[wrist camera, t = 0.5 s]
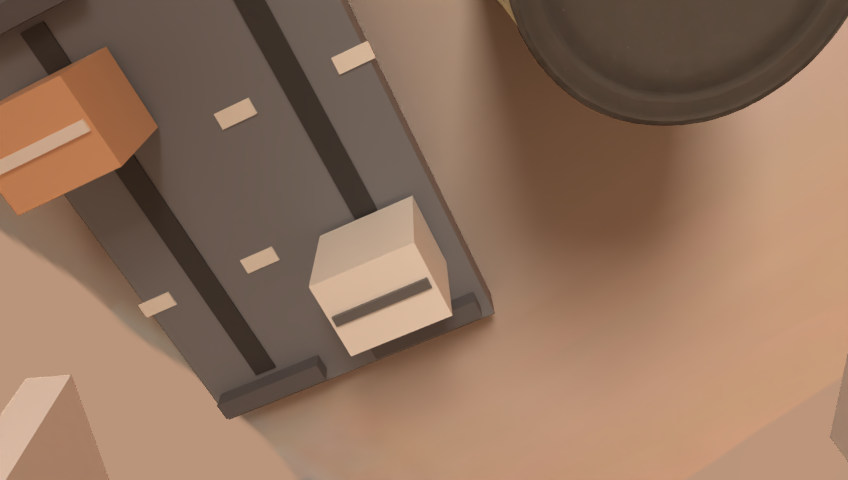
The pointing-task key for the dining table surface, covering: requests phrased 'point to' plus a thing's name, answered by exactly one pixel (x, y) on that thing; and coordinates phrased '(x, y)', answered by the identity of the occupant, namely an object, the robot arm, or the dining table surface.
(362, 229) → the off-white fader knob
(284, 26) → the console
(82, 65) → the terracotta fader knob
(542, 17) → the coffee can
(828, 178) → the dining table surface
